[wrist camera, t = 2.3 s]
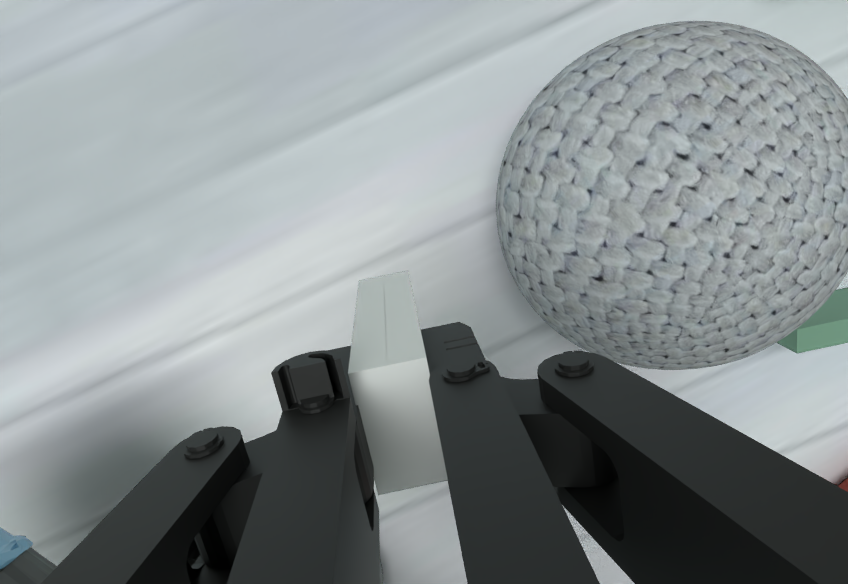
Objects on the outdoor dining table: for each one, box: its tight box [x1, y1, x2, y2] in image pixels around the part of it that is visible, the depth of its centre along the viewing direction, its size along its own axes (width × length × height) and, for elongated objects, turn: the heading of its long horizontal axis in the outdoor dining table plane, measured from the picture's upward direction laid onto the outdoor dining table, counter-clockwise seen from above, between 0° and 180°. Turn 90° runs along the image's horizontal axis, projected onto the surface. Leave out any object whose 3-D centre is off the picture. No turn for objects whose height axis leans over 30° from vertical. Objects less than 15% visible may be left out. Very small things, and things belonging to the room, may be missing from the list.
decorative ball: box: [496, 21, 848, 370], centre depth 26 cm, size 15×15×15 cm
